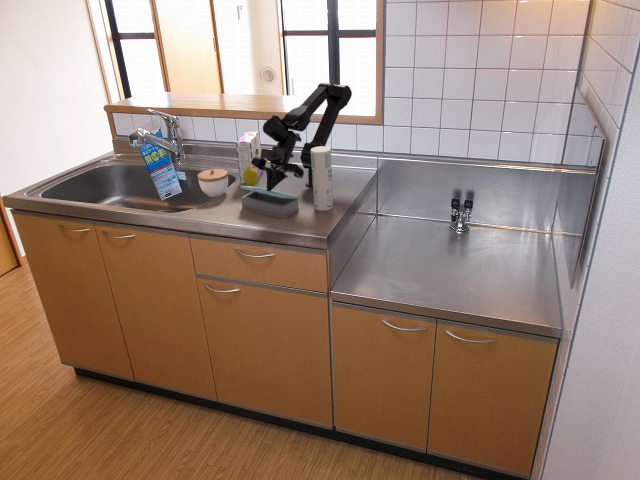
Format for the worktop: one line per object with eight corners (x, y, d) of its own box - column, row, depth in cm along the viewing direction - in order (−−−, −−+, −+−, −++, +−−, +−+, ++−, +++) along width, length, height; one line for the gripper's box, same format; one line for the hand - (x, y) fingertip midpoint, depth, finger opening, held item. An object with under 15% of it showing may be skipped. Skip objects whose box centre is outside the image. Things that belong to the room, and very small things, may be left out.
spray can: (332, 211, 169) (329, 152, 159) (312, 210, 170) (308, 152, 160) (334, 203, 174) (332, 146, 165) (315, 203, 175) (312, 146, 166)
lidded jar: (197, 200, 183) (193, 175, 179) (204, 189, 193) (200, 165, 189) (227, 198, 183) (224, 173, 179) (232, 187, 193) (229, 163, 188)
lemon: (258, 190, 189) (256, 169, 185) (243, 190, 189) (240, 170, 185) (260, 184, 194) (258, 164, 190) (245, 185, 194) (243, 164, 190)
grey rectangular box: (258, 199, 180) (256, 189, 179) (298, 209, 171) (297, 198, 169) (242, 208, 175) (241, 197, 173) (283, 218, 165) (282, 207, 163)
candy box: (249, 171, 208) (244, 131, 200) (263, 171, 207) (259, 131, 199) (240, 183, 196) (234, 141, 188) (255, 183, 195) (250, 141, 187)
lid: (256, 189, 179) (256, 186, 179) (298, 198, 169) (298, 196, 169) (240, 188, 172) (240, 185, 172) (282, 198, 162) (283, 195, 162)
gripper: (250, 133, 170) (232, 176, 168) (294, 140, 160) (276, 186, 158) (268, 148, 179) (252, 189, 177) (311, 155, 169) (295, 199, 167)
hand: (268, 190), depth 170 cm, fingers closed, pressing on lid
